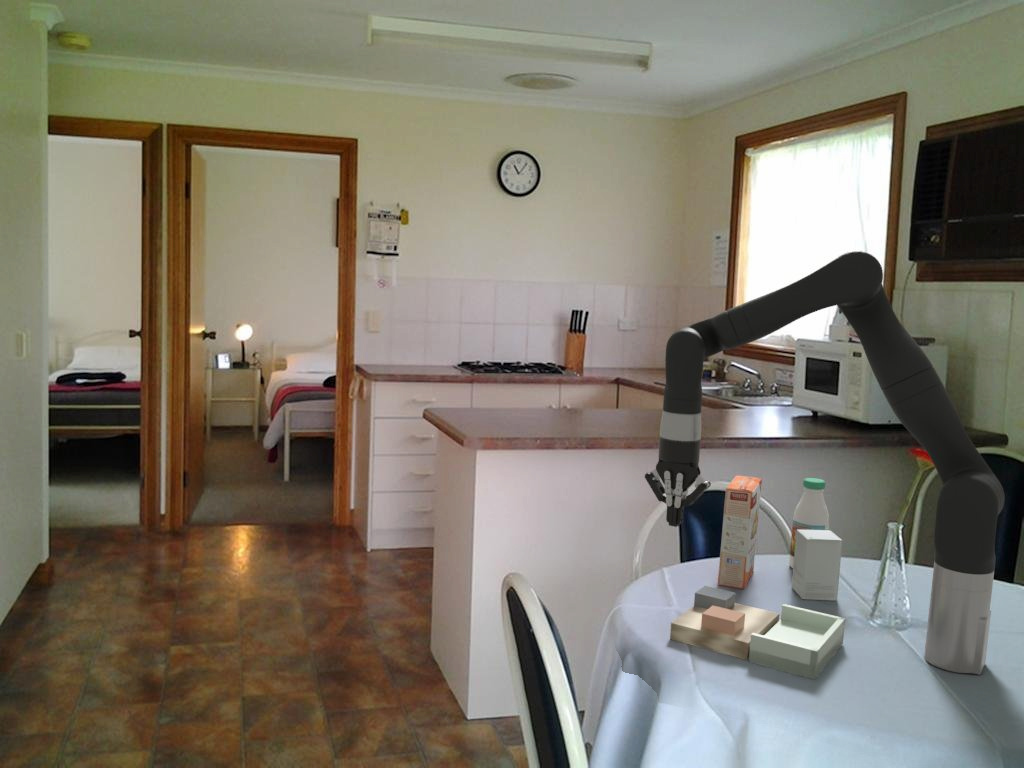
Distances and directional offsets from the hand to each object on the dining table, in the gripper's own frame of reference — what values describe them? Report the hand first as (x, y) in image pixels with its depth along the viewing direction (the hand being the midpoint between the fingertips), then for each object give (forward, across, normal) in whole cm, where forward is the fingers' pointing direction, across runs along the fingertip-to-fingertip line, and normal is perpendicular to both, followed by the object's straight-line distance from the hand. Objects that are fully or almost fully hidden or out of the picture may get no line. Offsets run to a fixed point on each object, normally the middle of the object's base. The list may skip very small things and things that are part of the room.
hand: (674, 525), depth 181 cm
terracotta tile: (+14, -14, +9) cm, 22 cm away
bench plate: (+17, -13, +4) cm, 22 cm away
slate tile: (+14, -9, 0) cm, 16 cm away
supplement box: (+17, -20, -28) cm, 38 cm away
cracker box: (+17, -4, -26) cm, 32 cm away
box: (+17, -26, +4) cm, 31 cm away
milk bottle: (+17, -14, -44) cm, 49 cm away
